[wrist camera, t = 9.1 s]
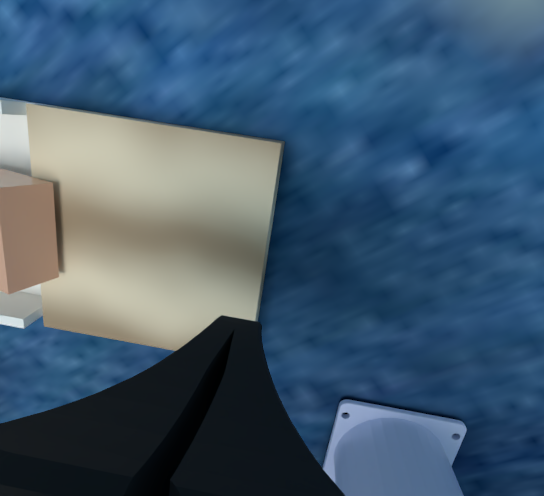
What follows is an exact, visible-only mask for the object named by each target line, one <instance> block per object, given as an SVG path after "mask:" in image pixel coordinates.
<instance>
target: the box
mask: <svg viewBox="0 0 544 496" xmlns="http://www.w3.org/2000/svg"><path fill="white" fill-rule="evenodd" d="M26 104H37V105H47V104H41V103H34V102H28V101H22V100H15V99H9V98H2V97H0V168H2V169H6V170H9V171H13V172H16V173H20V174H23V175H27V176H30V177H32V173H31V161H30V148H29V136H28V124H27V111H26ZM48 106H54V105H48ZM41 316H43V308H42V296H41V284H38V285H35V286H32V287H29V288H26V289H23V290H20V291H17V292H15V293H12V294H6V293H4V292H2V291H0V324H3V325H8V326H14V327H19V328H25V327H27V326H28V325H30V324H31V323H33V322H34V321H35V320H37V319H38V318H40V317H41Z"/></svg>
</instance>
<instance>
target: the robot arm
mask: <svg viewBox="0 0 544 496" xmlns="http://www.w3.org/2000/svg"><path fill="white" fill-rule="evenodd" d="M261 329H262V325H261V324H260V322H257V321H251V320H246V319H240V318H235V317H229V316H224V315H221V316H220V317H218V318H217V319H216V320H215V321H213V322H212V323H211V324H210V325H209V326H208V327H206V328H205V329H204V330H203V331H202V332H200V333H199V334H198V335H197V336H195V337H194V338H193V339H191V340H190V341H189V342H188V343H186V344H185V345H184V346H182V347H181V348H179V349H178V350H177V351H175V352H174V353H172V354H171V355H169V356H168V357H166V358H165V359H163V360H162V361H160V362H159V363H157V364H155V365H154V366H152V367H150V368H149V369H147V370H145V371H143V372H141V373H139V374H137V375H136V376H134V377H132V378H130V379H127V380H125V381H123V382H121V383H119V384H116V385H114V386H112V387H110V388H107V389H105V390H103V391H101V392H98V393H96V394H93V395H91V396H88V397H86V398H83V399H80V400H78V401H75V402H72V403H69V404H66V405H63V406H60V407H57V408H54V409H51V410H48V411H45V412H41V413H37V414H34V415H30V416H27V417H23V418H20V419H16V420H12V421H9V422H5V423H1V424H0V496H464V495H463V493H462V490H461V488H460V486H459V483H458V481H457V479H456V476H455V474H454V471H453V469H452V467H451V466H452V464H453V462H454V459H455V457H456V455H457V452H458V450H459V448H460V445H461V443H462V441H463V438H464V436H465V434H466V430H467V429H466V426H465V424H464V423H463V422H462V421H460V420H455V419H450V418H445V417H439V416H434V415H429V414H423V413H418V412H413V411H407V410H402V409H397V408H391V407H386V406H381V405H375V404H370V403H365V402H359V401H354V400H349V399H345V400H342V401H341V402H340V403H339V406H338V410H337V414H336V418H335V422H334V425H333V429H332V433H331V437H330V441H329V444H328V448H327V452H326V456H325V460H324V464H323V467H321V466H320V465H319V463H318V462H317V460H316V459H315V458H314V456H313V455H312V453H311V452H310V451H309V449H308V448H307V446H306V444H305V443H304V441H303V440H302V438H301V436H300V435H299V433H298V432H297V430H296V428H295V427H294V425H293V424H292V422H291V420H290V418H289V416H288V414H287V412H286V410H285V409H284V407H283V404H282V402H281V400H280V398H279V396H278V393H277V391H276V389H275V386H274V383H273V381H272V378H271V375H270V372H269V369H268V366H267V362H266V358H265V354H264V350H263V344H262V336H261ZM345 412H347V413H348V414H342V413H345ZM453 434H455V435H453Z"/></svg>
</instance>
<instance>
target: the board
mask: <svg viewBox="0 0 544 496" xmlns="http://www.w3.org/2000/svg"><path fill="white" fill-rule="evenodd" d="M26 111H27V124H28V136H29V148H30V161H31V173H32V177H34V178H38V179H41V180H45V181H48V182H52V183H53V190H54V206H55V222H56V238H57V254H58V270H59V277H58V278H55V279H52V280H49V281H47V282H44V283H41V296H42V308H43V321H44V326H45V327H51V328H56V329H61V330H67V331H72V332H77V333H83V334H88V335H94V336H99V337H104V338H110V339H115V340H120V341H126V342H131V343H137V344H142V345H147V346H153V347H158V348H163V349H169V350H174V351H177V350H178V349H179V348H181V347H182V346H184V345H185V344H186V343H188V342H189V341H190V340H191V339H193V338H194V337H195V336H197V335H198V334H199V333H200V332H202V331H203V330H204V329H205V328H206V327H208V326H209V325H210V324H211V323H212V322H213V321H215V320H216V319H217V318H218V317H220V316H221V315H224V316H229V317H235V318H240V319H246V320H251V321H257V322H258V317H259V310H260V303H261V297H262V290H263V284H264V277H265V270H266V264H267V257H268V250H269V244H270V237H271V230H272V224H273V217H274V210H275V204H276V197H277V190H278V184H279V177H280V170H281V164H282V157H283V151H284V144H285V141H279V140H272V139H266V138H259V137H253V136H246V135H240V134H234V133H227V132H221V131H214V130H208V129H201V128H195V127H189V126H182V125H176V124H169V123H163V122H157V121H150V120H144V119H137V118H131V117H124V116H118V115H112V114H105V113H99V112H92V111H86V110H79V109H73V108H67V107H59V106H48V105H37V104H26Z"/></svg>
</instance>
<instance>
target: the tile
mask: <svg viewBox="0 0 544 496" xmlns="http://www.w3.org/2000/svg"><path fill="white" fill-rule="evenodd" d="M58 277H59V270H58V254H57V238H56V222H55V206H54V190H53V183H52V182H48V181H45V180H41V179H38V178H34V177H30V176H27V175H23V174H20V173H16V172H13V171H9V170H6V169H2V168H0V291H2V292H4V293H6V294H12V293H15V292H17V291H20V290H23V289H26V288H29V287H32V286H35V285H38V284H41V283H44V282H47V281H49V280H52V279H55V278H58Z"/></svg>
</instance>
